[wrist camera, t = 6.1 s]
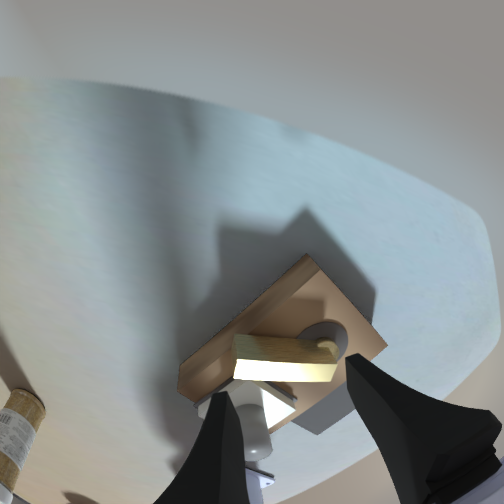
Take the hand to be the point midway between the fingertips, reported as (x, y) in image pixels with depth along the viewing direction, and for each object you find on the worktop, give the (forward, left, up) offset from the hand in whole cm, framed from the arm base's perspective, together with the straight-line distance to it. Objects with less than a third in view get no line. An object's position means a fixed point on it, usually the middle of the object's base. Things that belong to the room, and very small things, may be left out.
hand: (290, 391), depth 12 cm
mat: (-3, -13, -10) cm, 17 cm away
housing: (-2, -5, -10) cm, 11 cm away
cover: (-6, -5, -7) cm, 10 cm away
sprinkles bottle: (-26, +7, -10) cm, 29 cm away
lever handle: (-1, -3, -7) cm, 7 cm away
